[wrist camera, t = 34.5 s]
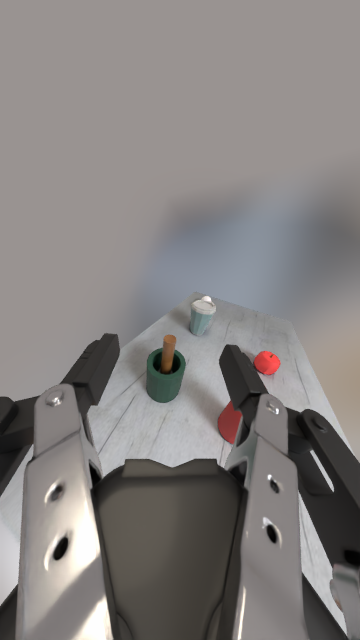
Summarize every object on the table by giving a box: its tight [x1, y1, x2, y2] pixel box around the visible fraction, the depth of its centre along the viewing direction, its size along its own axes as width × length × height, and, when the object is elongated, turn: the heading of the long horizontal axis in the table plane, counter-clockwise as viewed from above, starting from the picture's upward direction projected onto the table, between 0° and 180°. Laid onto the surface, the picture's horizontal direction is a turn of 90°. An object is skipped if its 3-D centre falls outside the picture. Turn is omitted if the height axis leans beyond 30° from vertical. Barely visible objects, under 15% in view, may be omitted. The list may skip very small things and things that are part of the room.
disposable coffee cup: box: [190, 300, 216, 335], centre depth 61 cm, size 11×11×15 cm
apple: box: [254, 351, 280, 375], centre depth 49 cm, size 8×8×8 cm
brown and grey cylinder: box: [158, 335, 176, 375], centre depth 35 cm, size 4×4×18 cm
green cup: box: [147, 348, 186, 403], centre depth 38 cm, size 10×10×11 cm
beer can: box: [218, 401, 242, 444], centre depth 31 cm, size 7×7×12 cm
